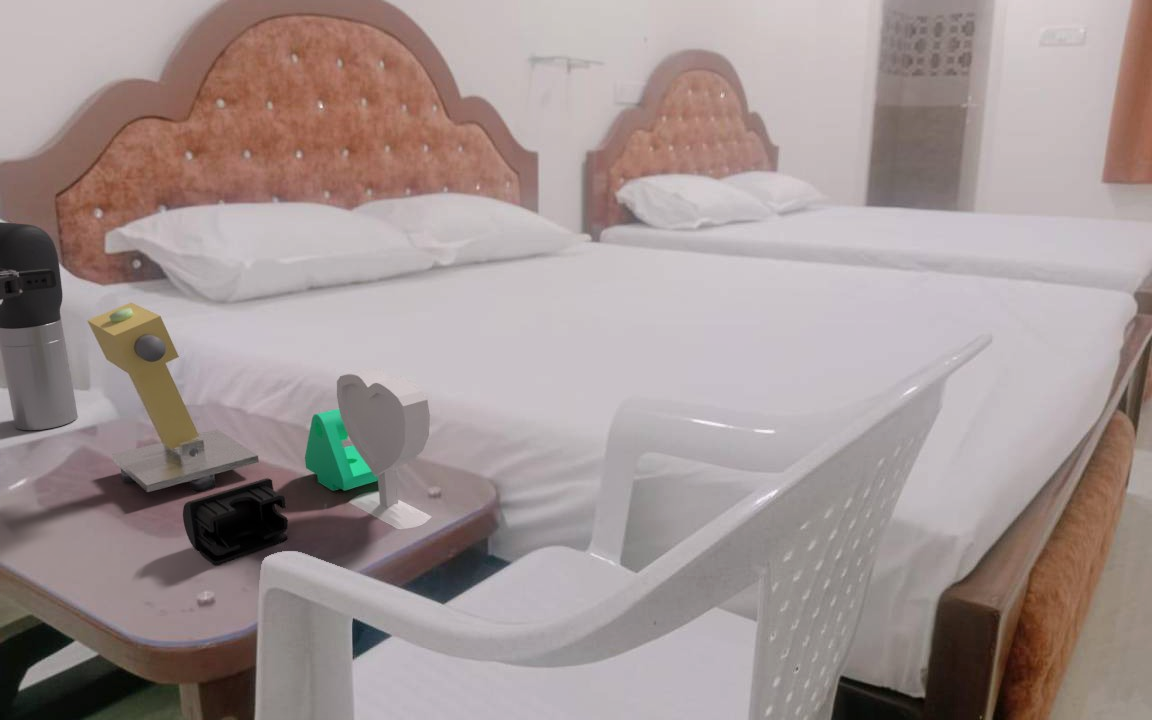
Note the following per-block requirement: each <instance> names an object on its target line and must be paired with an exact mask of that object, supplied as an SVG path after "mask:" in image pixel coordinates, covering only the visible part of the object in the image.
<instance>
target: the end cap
mask: <svg viewBox="0 0 1152 720" xmlns="http://www.w3.org/2000/svg"><path fill="white" fill-rule="evenodd" d="M286 505H287V502H286V498H285V496H284V495H282V494H280V493H278V492H277V491H275V489H274V485H273V479H272V478H268V477H267V478H262V479H259V480H257V481H253V482H252V481H251V482H249V483H246V484H242V485H239V486H236V487H233V488H229V489H227V490H223V491H220V492H219V491H218V492H216V493H213V494H208V495H206V496H203V497H198V498H196V499H193V500H190V501H187V502H186V503H185V504H184V506H183V510H182V519H183V526H184V530H185V533H186V535H187V538H188V540H189V543H190V544H191V546H192V547H193V549H194V550H195V551H196V552H199V554H200V555H201V556H202V557H203V558H204V559H205V560H207V561H208V562H209V563H210V564H211V565H212V566H222V565H224V564H227V563H230V562H233V561H235V560H238V559H241V558H244V557H247V556H249V555H252V554H256V553H258V552H261V551H263V550H266V549H269V548H273V547H274V546H277V545H278V546H279V545H281V544H282V543H286V542H287V541H288V534H287V533H286V532H287V531H288V528H289V526H288V525H289V524H288V522H289V520H288V518H287V517H286V516H285V515H283V514H282V513H280V512H278V510H277V508H276V506H277V507H279V508H281V509H282V510H283V509H287V507H286Z"/></svg>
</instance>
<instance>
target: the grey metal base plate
mask: <svg viewBox="0 0 1152 720" xmlns="http://www.w3.org/2000/svg"><path fill="white" fill-rule="evenodd" d="M198 435H199V436H198V437H196V438H194V439H192V440H190V441H186V442H182V443H179V446H178V447H177V448H175V449H173V450H171V449H170V448H169V447H167V446H166V445H165V444H163V443H162V442H159V443H155V444H151V445H147V446H146V445H145V446H142V447H138V448H134V449H130V450H124V451H121V452H117V453H113V454H111V456H112V462H114V463H115V464H116V465H117V466H118V467H119V468H120V473H121V480H122V483H123V484H127V485H128V484H129V485H130V484H133V485H134V484H138V486H140V487H141V488H142V489H144V490H145V491H146V493H150V492H153V491H157V490H161V489H165V488H168V487H172V486H176V485H179V484H183V483H187V482H189V487H190V490H191V491H192V492H196V493H199V492H206V491H209V490H213V488H215V487H216V479H215V475H216V474H219V473H224V472H227V471H231V470H235V469H238V468H242V467H245V466H250V465H253V464H257V463H259V455H258V454H257V453H254V452H253V450H250V449H249V448H247V447H245V446H244V445H243V444H241V443H240V442H238V441H236V440H235V439H233V438H232V437H230V436H228V435H227V434H225V432H222V431H221V430H219V429H218V428H217V429H211V430H208V431H205V432H200V433H198Z"/></svg>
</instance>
